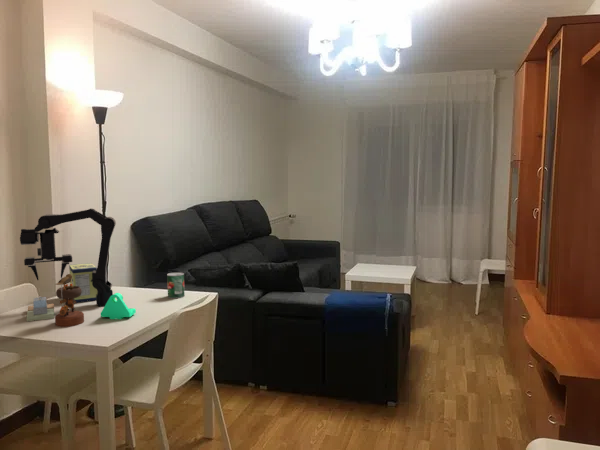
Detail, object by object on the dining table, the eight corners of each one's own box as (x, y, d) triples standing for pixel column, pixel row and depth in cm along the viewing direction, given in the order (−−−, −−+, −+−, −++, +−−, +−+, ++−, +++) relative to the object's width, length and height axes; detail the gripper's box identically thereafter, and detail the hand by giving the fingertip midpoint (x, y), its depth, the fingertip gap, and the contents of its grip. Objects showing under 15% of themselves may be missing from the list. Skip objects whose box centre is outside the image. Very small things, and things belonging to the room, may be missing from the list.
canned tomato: (164, 297, 250) (163, 274, 248) (176, 293, 256) (175, 271, 255) (176, 299, 245) (175, 276, 244) (188, 295, 252) (187, 273, 251)
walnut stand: (54, 308, 231) (53, 303, 230) (54, 311, 224) (53, 307, 224) (28, 310, 226) (28, 306, 226) (27, 314, 220) (27, 310, 220)
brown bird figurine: (80, 327, 202) (73, 276, 200) (50, 330, 200) (43, 279, 198) (90, 316, 217) (83, 268, 215) (62, 319, 215) (55, 272, 213)
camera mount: (136, 314, 220) (135, 290, 219) (129, 319, 213) (128, 294, 211) (108, 314, 221) (107, 290, 220) (100, 319, 213) (99, 294, 212)
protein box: (93, 293, 258) (91, 262, 256) (98, 300, 244) (97, 267, 243) (70, 296, 252) (68, 264, 251) (74, 303, 239) (72, 269, 237)
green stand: (54, 313, 222) (53, 308, 222) (54, 318, 214) (54, 313, 214) (27, 315, 218) (27, 311, 218) (26, 321, 210) (26, 316, 210)
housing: (47, 313, 214) (46, 298, 213) (33, 315, 212) (32, 300, 211) (47, 309, 220) (46, 295, 220) (34, 311, 218) (33, 296, 218)
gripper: (70, 240, 239) (72, 274, 240) (24, 243, 231) (26, 277, 232) (71, 243, 229) (73, 278, 230) (23, 246, 221) (25, 282, 222)
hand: (49, 279), depth 229 cm, fingers open, 9 cm apart
